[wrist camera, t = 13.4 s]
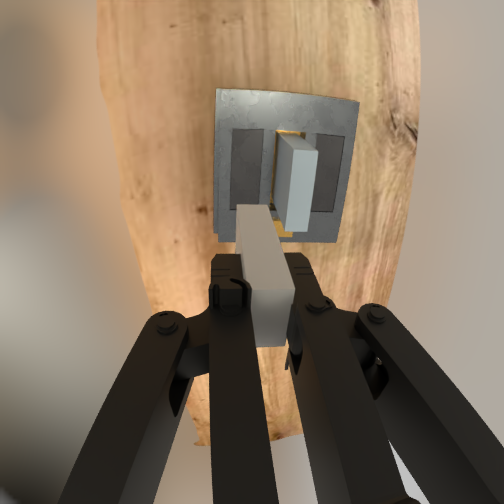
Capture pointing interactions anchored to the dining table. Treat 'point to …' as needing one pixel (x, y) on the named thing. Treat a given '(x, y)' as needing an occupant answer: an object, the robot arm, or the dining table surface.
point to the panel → (293, 180)
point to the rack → (263, 153)
